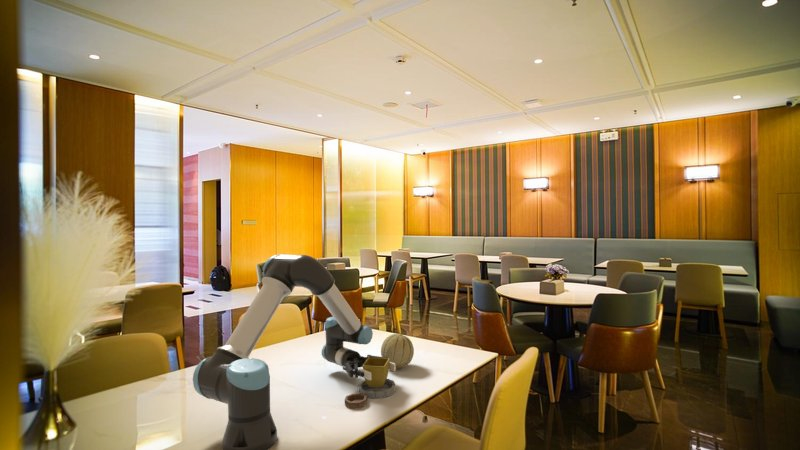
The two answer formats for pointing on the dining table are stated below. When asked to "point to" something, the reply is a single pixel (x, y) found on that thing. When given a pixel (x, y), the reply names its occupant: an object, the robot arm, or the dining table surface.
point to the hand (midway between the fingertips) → (383, 371)
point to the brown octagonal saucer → (355, 400)
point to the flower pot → (377, 371)
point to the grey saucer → (377, 389)
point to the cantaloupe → (398, 350)
